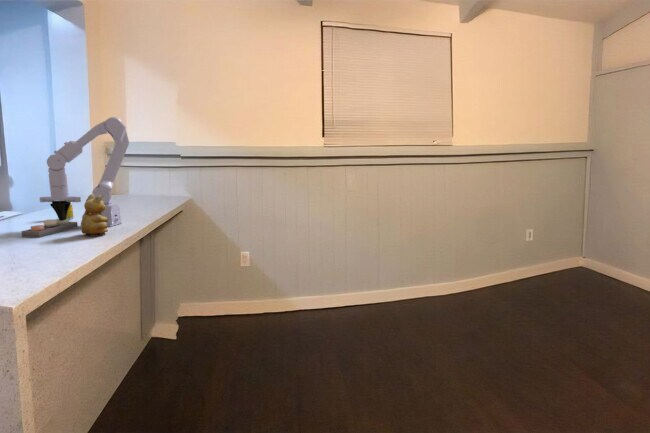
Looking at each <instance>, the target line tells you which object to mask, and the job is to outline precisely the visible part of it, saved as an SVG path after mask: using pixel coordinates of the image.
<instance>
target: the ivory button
mask: <svg viewBox="0 0 650 433" xmlns="http://www.w3.org/2000/svg"><path fill="white" fill-rule="evenodd" d="M57 220H58V219H55V218H54V219H52V218H51V219H46V220H45V219H44V220H43V225H44V226H45V227H51V226H57Z"/></svg>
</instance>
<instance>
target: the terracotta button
mask: <svg viewBox="0 0 650 433" xmlns="http://www.w3.org/2000/svg"><path fill="white" fill-rule="evenodd" d="M30 229H31V231H42V230H44V224H43V225H41V224H37V225H32V226H30Z"/></svg>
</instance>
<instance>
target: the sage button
mask: <svg viewBox="0 0 650 433" xmlns="http://www.w3.org/2000/svg"><path fill="white" fill-rule="evenodd" d="M56 220H57V224H58V225H65V224H69V222H70V220H69V219H66V220H63V221H59V219H56Z"/></svg>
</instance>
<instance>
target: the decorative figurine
mask: <svg viewBox="0 0 650 433" xmlns="http://www.w3.org/2000/svg"><path fill="white" fill-rule="evenodd" d="M101 198H102V196H101V195H99V196H97V197H96V198H95V196H94V194H92V193H91V194H89V195H88V196H87V198H86V200H85V203H84V206H83V207H84V213H83V215H81V216H82V217H81V222H80V230H81V233H82V234H84V235H85V236H87V237H88V236H89V237H98V236H99V237H100V236H104V235H106V233H107V232H108V231H109V230H108V226H107V221H108V219H107V217H104V216H103V215H102V213H101V212H103V211H104V210H105V208H106V207H105V205H104V202H103V201H101Z"/></svg>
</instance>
